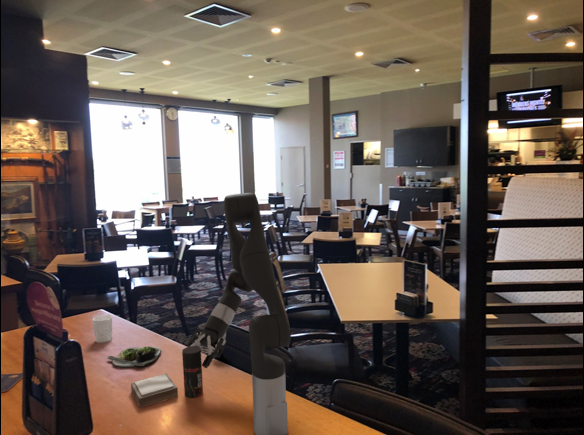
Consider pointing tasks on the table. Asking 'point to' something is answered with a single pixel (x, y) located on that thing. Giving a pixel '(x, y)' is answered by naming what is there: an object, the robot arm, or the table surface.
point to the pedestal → (154, 390)
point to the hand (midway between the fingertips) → (195, 363)
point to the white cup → (102, 328)
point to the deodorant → (192, 371)
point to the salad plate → (136, 357)
